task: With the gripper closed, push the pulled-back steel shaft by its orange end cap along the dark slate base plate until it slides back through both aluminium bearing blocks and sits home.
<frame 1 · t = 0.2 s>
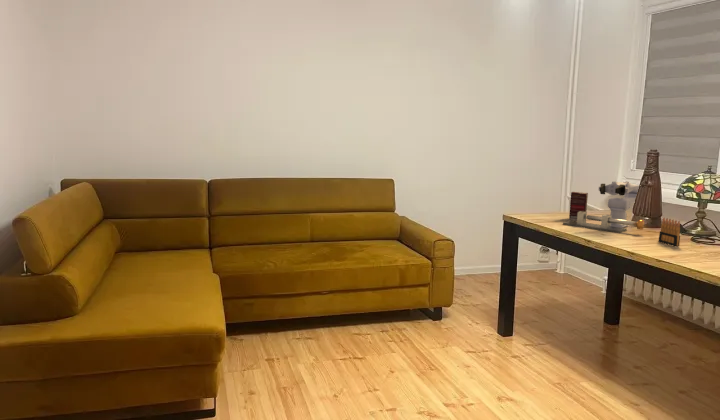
hand: (608, 190, 282), 21 cm above the table, tool horizontal, fingers open, 7 cm apart
shaft: (614, 220, 288), point 5 cm above the table, slide at 8.0 cm
supplement box: (577, 220, 318), on the table
ammunition clip: (668, 244, 259), on the table
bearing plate: (594, 227, 296), on the table
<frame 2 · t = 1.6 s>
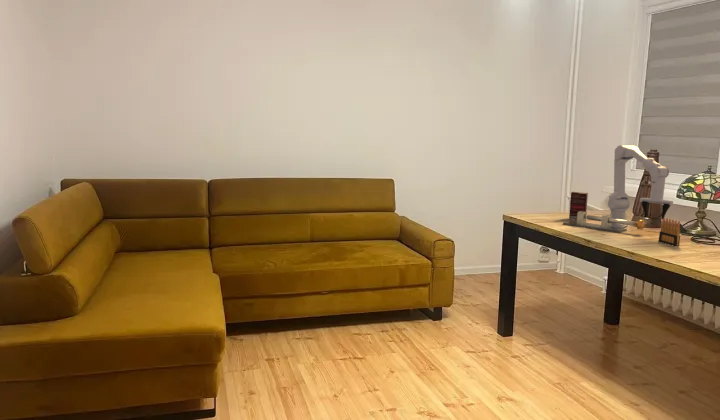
hand: (654, 217, 274), 9 cm above the table, tool pointing down, fingers open, 7 cm apart
nothing on the table moved.
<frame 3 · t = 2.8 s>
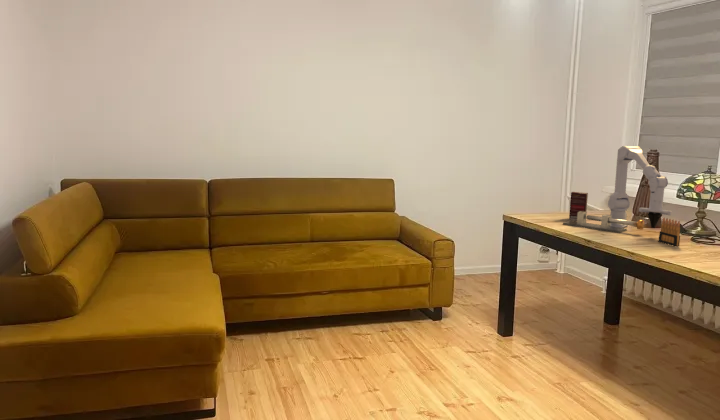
hand: (653, 227, 275), 4 cm above the table, tool pointing down, fingers closed
nothing on the table moved.
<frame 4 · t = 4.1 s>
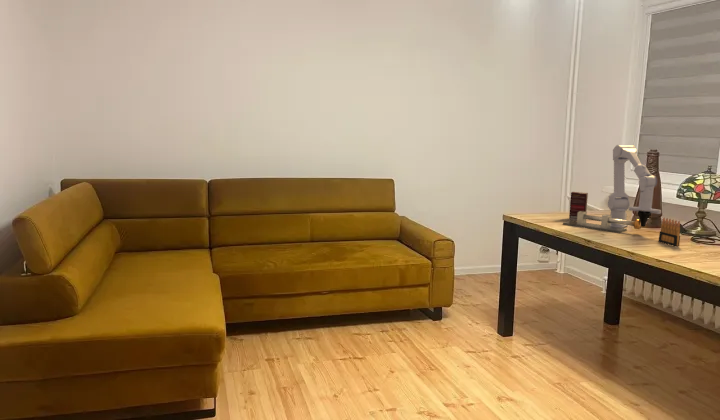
hand: (643, 226, 278), 4 cm above the table, tool pointing down, fingers closed
shaft: (611, 220, 289), point 5 cm above the table, slide at 6.6 cm, touching gripper
everything else where it was.
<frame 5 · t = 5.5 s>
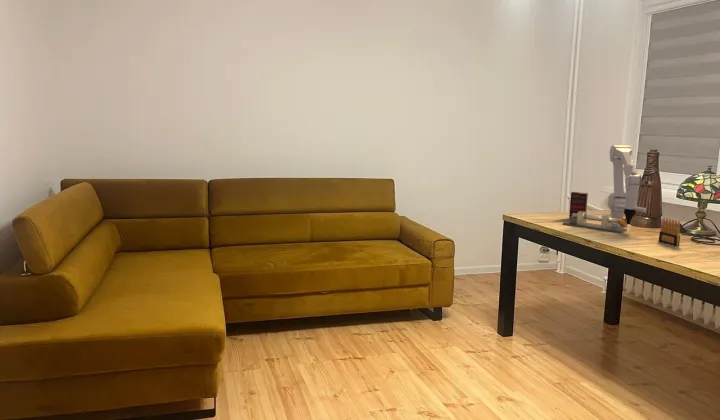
hand: (628, 224, 283), 4 cm above the table, tool pointing down, fingers closed
shaft: (598, 218, 293), point 5 cm above the table, slide at -0.1 cm, touching gripper
everything else where it was.
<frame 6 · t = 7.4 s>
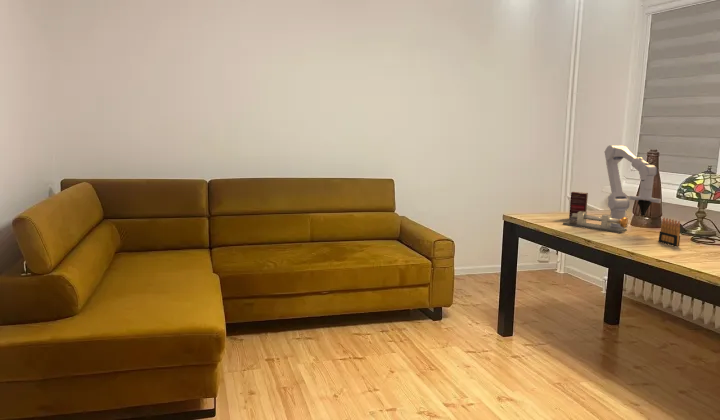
hand: (643, 215, 281), 9 cm above the table, tool pointing down, fingers closed
shaft: (598, 218, 293), point 5 cm above the table, slide at 0.0 cm
everything else where it was.
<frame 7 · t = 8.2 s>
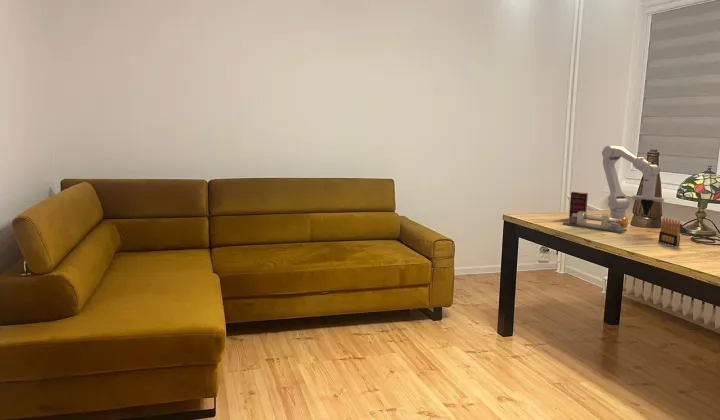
hand: (646, 214, 283), 9 cm above the table, tool pointing down, fingers closed
nothing on the table moved.
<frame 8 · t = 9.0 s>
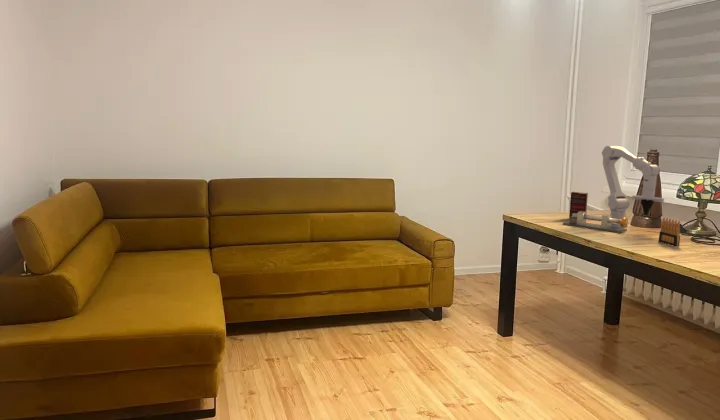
hand: (646, 214, 283), 9 cm above the table, tool pointing down, fingers closed
nothing on the table moved.
at the end: shaft slide at 0.0 cm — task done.
